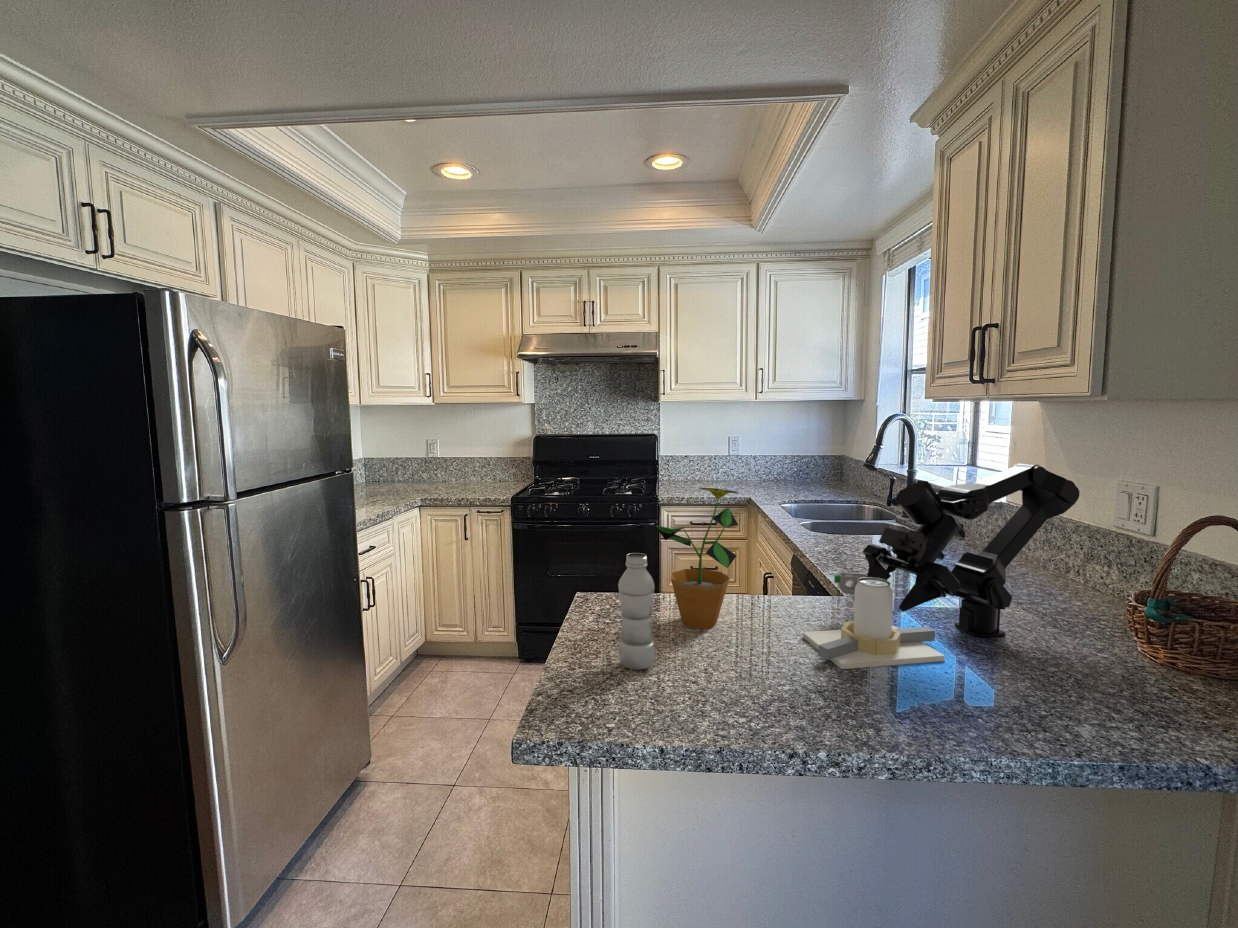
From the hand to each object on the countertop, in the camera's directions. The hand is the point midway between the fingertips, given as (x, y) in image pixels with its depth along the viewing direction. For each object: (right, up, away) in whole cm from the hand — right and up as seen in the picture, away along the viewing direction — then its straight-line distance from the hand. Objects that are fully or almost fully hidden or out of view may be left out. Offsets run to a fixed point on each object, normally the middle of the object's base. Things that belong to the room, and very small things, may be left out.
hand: (881, 601), depth 104 cm
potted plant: (-33, -8, +14) cm, 36 cm away
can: (-2, -8, 0) cm, 8 cm away
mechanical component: (+2, -8, +14) cm, 16 cm away
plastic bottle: (-47, -10, -7) cm, 48 cm away
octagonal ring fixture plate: (-2, -9, 0) cm, 9 cm away
